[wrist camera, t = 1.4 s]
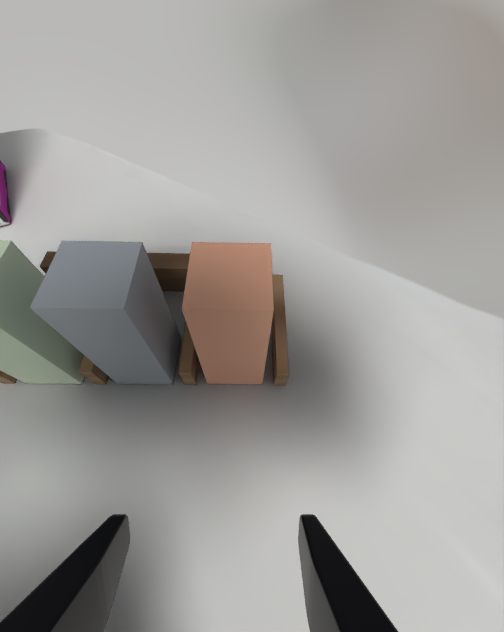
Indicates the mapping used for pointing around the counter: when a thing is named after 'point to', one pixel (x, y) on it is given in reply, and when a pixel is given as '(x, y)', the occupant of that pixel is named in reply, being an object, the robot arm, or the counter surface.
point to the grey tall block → (111, 310)
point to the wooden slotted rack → (173, 278)
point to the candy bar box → (3, 198)
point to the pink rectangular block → (230, 309)
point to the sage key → (30, 328)
